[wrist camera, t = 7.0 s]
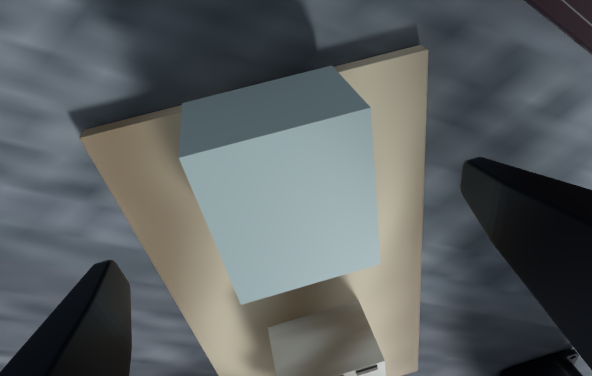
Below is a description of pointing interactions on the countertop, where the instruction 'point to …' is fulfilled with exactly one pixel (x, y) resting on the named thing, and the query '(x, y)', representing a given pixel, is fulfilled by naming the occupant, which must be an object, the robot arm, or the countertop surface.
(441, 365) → the countertop surface
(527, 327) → the countertop surface
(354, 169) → the stub
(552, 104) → the countertop surface
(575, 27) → the chocolate bar
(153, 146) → the board
